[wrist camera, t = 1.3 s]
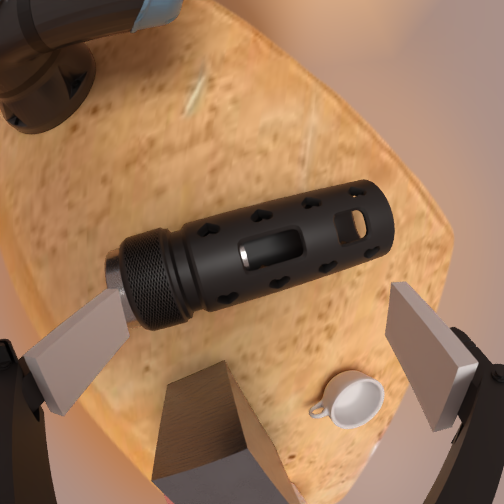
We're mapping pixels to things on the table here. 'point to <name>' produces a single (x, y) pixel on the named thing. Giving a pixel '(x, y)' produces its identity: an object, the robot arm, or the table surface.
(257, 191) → the table surface
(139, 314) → the muzzle brake
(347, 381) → the teacup
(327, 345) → the table surface
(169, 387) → the switch box
